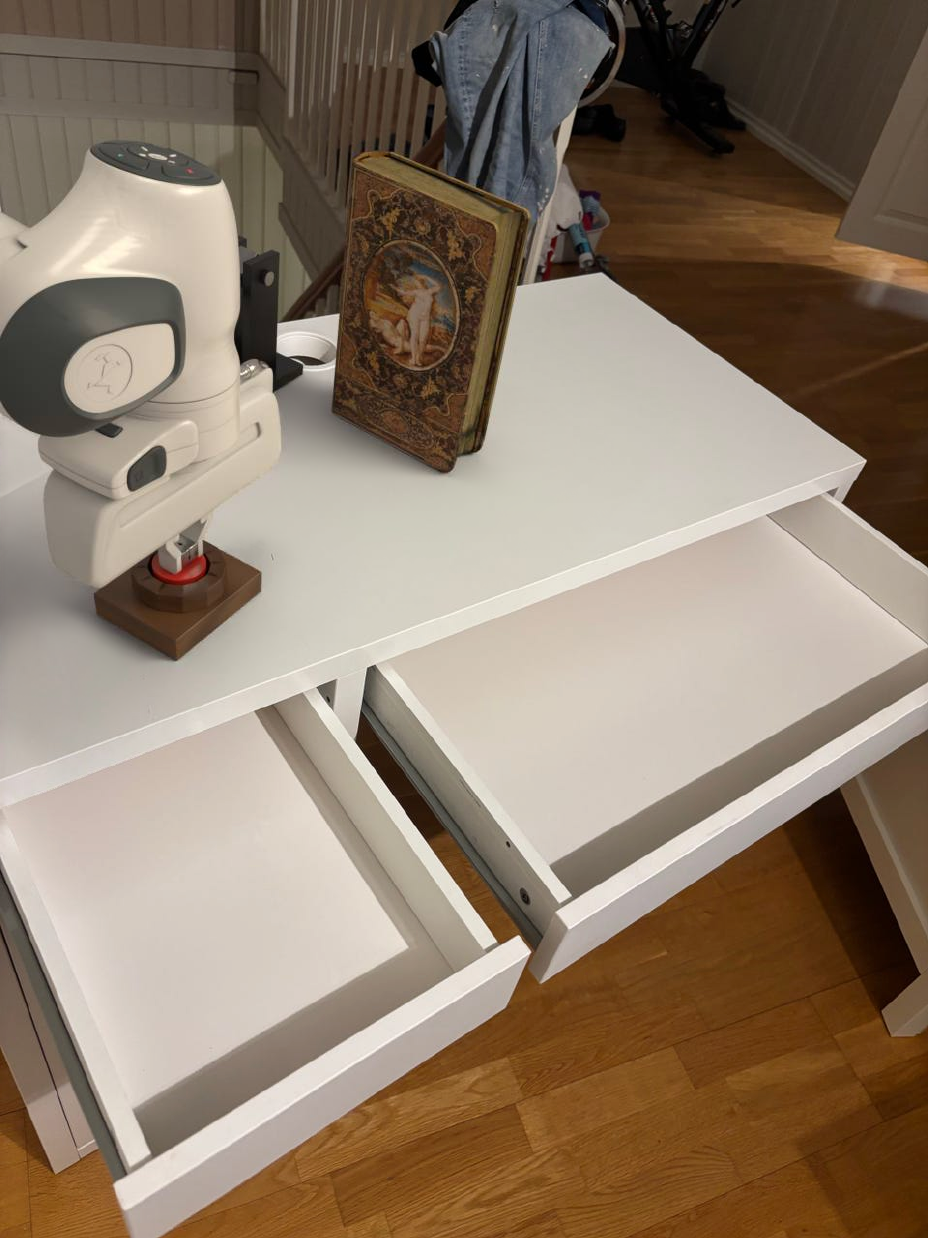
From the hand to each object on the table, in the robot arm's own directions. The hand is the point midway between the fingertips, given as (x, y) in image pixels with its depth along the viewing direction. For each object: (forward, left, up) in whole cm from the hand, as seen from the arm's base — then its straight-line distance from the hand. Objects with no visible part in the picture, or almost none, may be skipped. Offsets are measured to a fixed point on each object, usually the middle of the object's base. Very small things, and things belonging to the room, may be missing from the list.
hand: (181, 561), depth 72 cm
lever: (+26, +18, +4) cm, 32 cm away
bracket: (+30, +18, -4) cm, 35 cm away
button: (0, 0, -2) cm, 2 cm away
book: (+33, 0, -5) cm, 33 cm away
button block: (0, 0, -4) cm, 4 cm away
